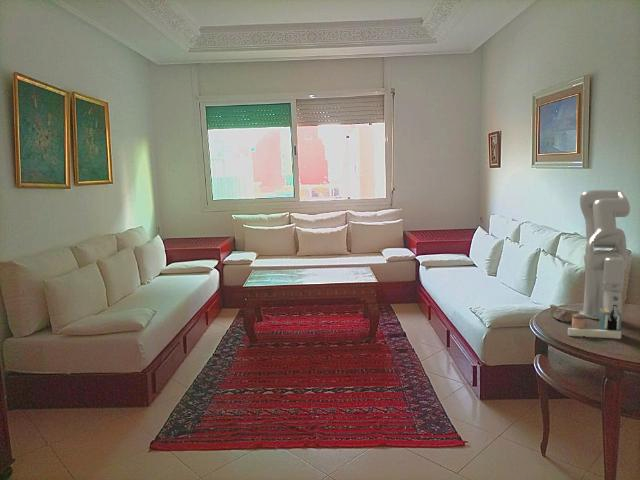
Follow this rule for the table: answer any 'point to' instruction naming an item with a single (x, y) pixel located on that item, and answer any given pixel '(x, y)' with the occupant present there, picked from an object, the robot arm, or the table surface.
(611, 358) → the table surface
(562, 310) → the mineral specimen
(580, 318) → the spice jar
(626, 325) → the table surface
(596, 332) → the rail
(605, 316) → the tea tin
